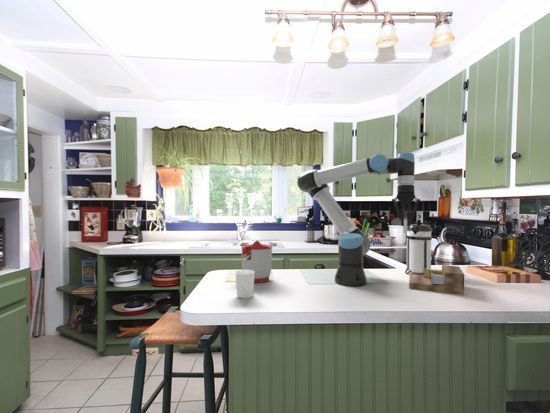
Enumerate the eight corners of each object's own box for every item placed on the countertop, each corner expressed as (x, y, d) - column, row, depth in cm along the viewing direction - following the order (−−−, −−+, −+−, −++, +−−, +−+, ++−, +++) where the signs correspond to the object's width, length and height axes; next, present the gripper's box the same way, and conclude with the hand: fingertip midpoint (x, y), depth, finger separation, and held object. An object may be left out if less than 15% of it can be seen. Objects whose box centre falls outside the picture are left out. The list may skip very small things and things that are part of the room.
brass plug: (423, 277, 135) (423, 269, 135) (423, 275, 139) (423, 267, 139) (450, 280, 130) (450, 271, 130) (449, 277, 134) (449, 270, 134)
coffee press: (441, 277, 147) (442, 220, 147) (411, 277, 147) (411, 220, 147) (424, 269, 164) (425, 218, 164) (397, 269, 164) (397, 218, 164)
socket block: (409, 288, 127) (409, 268, 127) (409, 279, 142) (409, 262, 142) (464, 295, 118) (464, 274, 118) (458, 284, 133) (458, 266, 133)
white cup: (239, 300, 111) (239, 275, 111) (232, 294, 118) (233, 270, 118) (257, 297, 115) (257, 272, 115) (250, 291, 122) (250, 268, 122)
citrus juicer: (232, 281, 138) (232, 240, 138) (256, 274, 151) (256, 237, 151) (254, 287, 128) (254, 244, 128) (278, 279, 141) (278, 240, 141)
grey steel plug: (431, 283, 124) (431, 275, 124) (430, 281, 128) (430, 273, 128) (460, 287, 119) (460, 278, 119) (459, 284, 123) (459, 275, 123)
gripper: (390, 184, 136) (390, 232, 136) (420, 184, 130) (420, 234, 131) (392, 185, 143) (391, 231, 143) (420, 185, 137) (420, 232, 137)
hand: (405, 232), depth 137 cm, fingers closed
